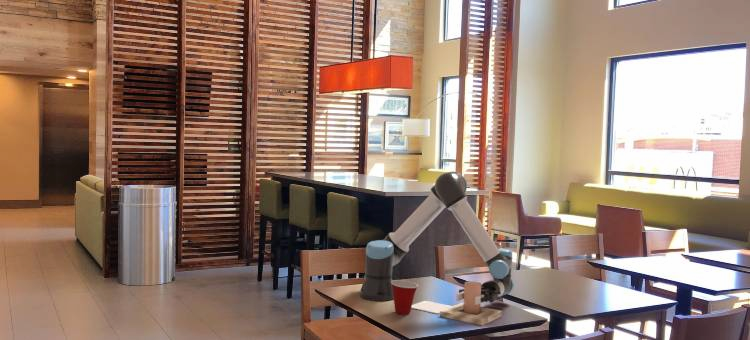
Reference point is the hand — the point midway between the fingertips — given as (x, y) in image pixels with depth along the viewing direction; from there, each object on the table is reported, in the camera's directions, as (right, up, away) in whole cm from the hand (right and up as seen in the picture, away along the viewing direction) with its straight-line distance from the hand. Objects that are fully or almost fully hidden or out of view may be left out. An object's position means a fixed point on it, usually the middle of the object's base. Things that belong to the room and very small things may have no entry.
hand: (466, 299), depth 247 cm
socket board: (+2, -7, +4) cm, 9 cm away
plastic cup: (-24, -6, +5) cm, 25 cm away
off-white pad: (-12, -6, +15) cm, 20 cm away
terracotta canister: (+2, -7, +4) cm, 9 cm away
